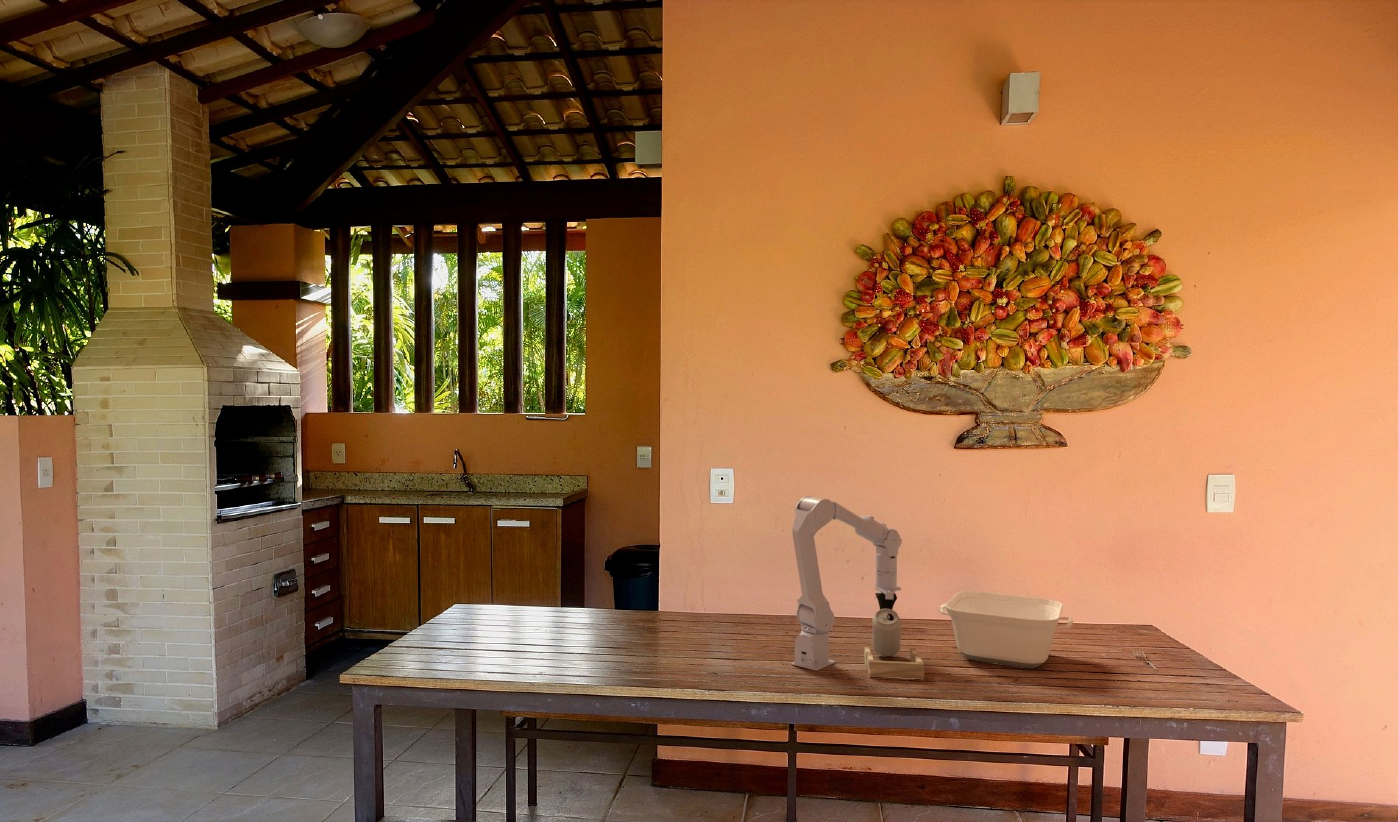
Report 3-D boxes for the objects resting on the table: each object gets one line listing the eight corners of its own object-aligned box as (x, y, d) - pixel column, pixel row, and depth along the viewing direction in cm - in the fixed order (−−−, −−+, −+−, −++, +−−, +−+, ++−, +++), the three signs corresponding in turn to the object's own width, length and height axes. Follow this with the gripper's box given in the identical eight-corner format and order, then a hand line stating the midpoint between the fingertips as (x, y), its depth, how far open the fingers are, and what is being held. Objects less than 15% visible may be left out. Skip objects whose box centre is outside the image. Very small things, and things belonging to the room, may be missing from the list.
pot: (930, 662, 210) (930, 607, 210) (949, 637, 236) (949, 588, 236) (1070, 683, 194) (1070, 623, 195) (1074, 653, 220) (1075, 601, 220)
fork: (1163, 684, 196) (1163, 676, 196) (1131, 656, 219) (1131, 649, 219) (1177, 685, 195) (1177, 677, 195) (1143, 657, 219) (1143, 650, 219)
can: (902, 657, 212) (903, 624, 207) (875, 659, 213) (875, 626, 207) (897, 638, 219) (897, 605, 214) (870, 640, 219) (870, 607, 214)
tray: (924, 680, 195) (924, 664, 195) (869, 677, 196) (869, 661, 196) (914, 663, 209) (914, 648, 209) (863, 661, 210) (864, 646, 210)
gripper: (905, 576, 210) (904, 627, 210) (897, 566, 225) (896, 614, 224) (878, 575, 211) (877, 626, 211) (872, 565, 225) (871, 613, 225)
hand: (885, 619), depth 218 cm, fingers closed
